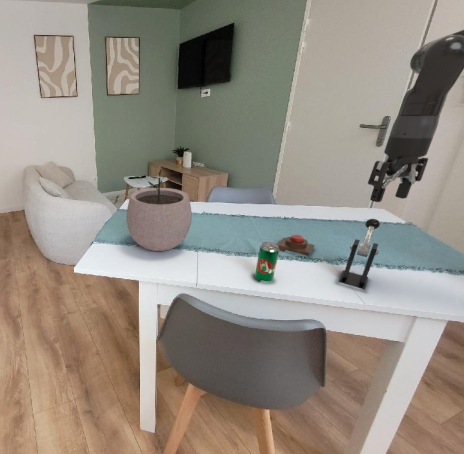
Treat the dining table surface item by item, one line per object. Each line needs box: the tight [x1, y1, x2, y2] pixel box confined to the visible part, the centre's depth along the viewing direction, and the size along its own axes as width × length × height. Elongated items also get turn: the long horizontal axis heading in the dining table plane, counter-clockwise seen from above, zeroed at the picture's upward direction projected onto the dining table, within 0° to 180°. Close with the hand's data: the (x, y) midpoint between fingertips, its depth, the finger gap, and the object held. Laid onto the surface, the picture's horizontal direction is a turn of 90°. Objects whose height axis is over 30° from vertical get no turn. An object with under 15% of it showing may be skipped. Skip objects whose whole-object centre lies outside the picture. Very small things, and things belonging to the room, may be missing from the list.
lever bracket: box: [338, 239, 379, 290], centre depth 84 cm, size 8×6×13 cm
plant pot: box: [126, 169, 193, 252], centre depth 108 cm, size 24×24×30 cm
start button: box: [290, 234, 305, 243], centre depth 104 cm, size 4×4×2 cm
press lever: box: [356, 218, 381, 258], centre depth 84 cm, size 14×3×3 cm, turn 135°
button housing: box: [276, 235, 315, 257], centre depth 105 cm, size 10×8×4 cm
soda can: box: [254, 241, 280, 282], centre depth 88 cm, size 5×5×12 cm
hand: (388, 199), depth 76 cm, fingers open, 8 cm apart
